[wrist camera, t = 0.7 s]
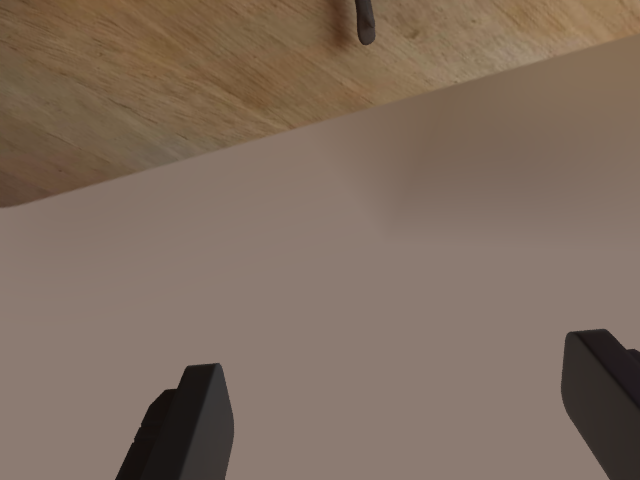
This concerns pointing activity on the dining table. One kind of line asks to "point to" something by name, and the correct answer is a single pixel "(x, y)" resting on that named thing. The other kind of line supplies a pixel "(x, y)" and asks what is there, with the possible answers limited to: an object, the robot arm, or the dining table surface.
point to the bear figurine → (365, 21)
